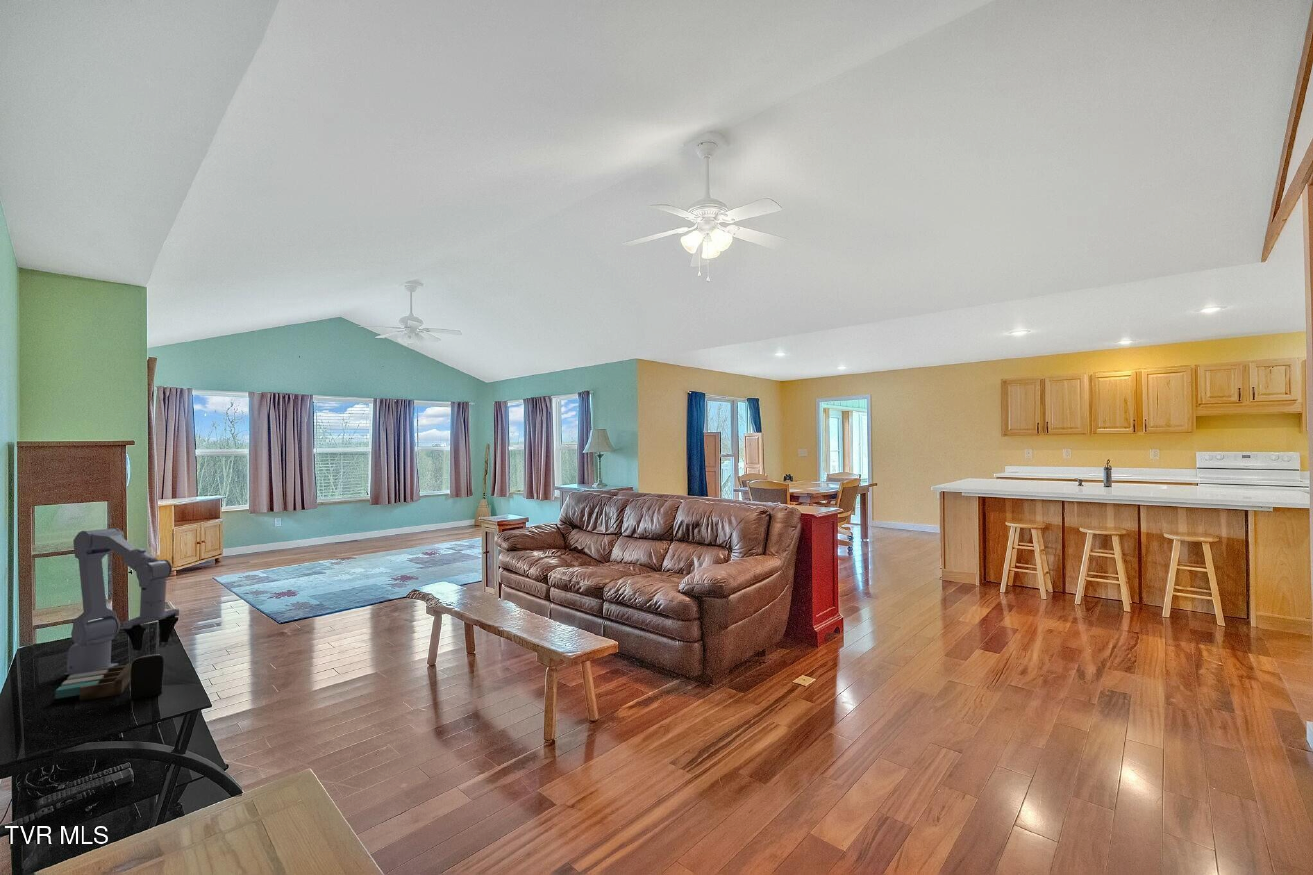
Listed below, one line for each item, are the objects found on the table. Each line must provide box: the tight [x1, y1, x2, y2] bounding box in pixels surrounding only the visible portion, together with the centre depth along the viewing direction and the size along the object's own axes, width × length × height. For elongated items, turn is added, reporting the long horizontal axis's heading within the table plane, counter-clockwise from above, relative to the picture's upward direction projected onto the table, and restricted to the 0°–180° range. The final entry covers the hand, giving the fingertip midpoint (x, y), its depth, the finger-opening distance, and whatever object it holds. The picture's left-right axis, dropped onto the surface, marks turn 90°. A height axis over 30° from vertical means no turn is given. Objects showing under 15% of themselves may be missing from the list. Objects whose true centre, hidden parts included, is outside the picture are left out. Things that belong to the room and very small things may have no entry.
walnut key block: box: [78, 662, 132, 701], centre depth 163 cm, size 8×16×4 cm, turn 34°
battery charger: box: [129, 652, 165, 701], centre depth 158 cm, size 7×4×11 cm, turn 133°
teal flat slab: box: [54, 681, 99, 700], centre depth 156 cm, size 8×3×2 cm, turn 124°
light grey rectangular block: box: [66, 670, 108, 680], centre depth 164 cm, size 8×3×2 cm, turn 124°
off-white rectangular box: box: [60, 675, 104, 686], centre depth 160 cm, size 8×3×2 cm, turn 124°
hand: (151, 645), depth 171 cm, fingers open, 7 cm apart
